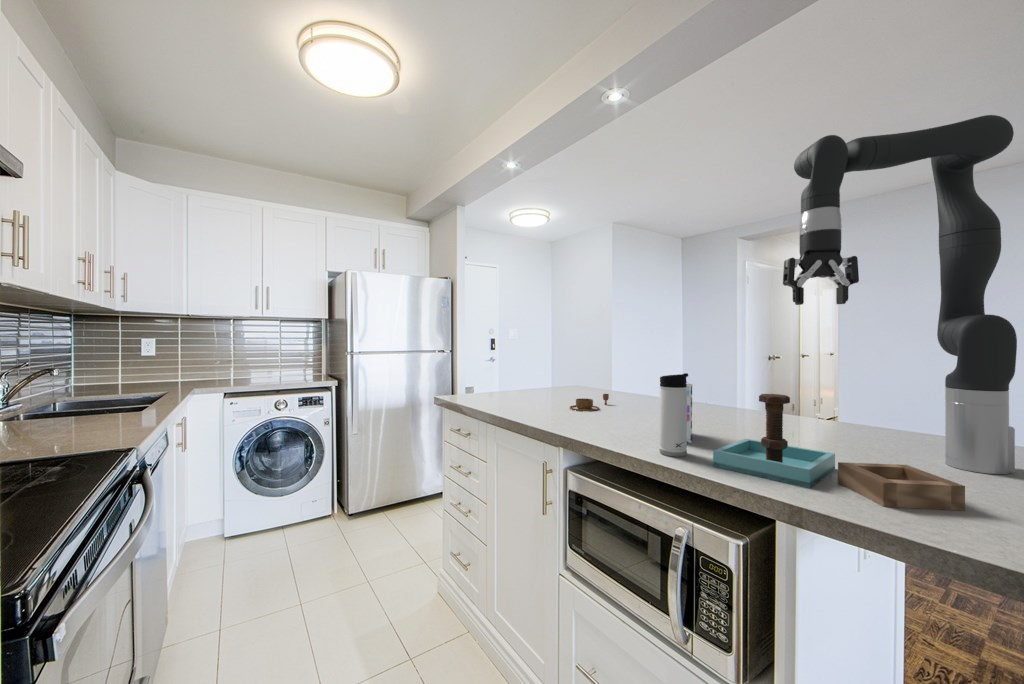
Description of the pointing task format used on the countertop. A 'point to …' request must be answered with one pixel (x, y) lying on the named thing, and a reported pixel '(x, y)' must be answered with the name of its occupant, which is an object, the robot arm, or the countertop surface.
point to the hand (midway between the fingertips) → (819, 304)
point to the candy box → (689, 413)
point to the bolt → (774, 426)
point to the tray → (795, 468)
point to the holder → (901, 486)
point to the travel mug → (673, 415)
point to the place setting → (588, 404)
